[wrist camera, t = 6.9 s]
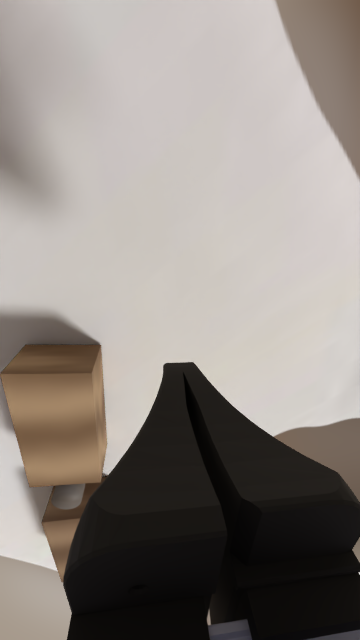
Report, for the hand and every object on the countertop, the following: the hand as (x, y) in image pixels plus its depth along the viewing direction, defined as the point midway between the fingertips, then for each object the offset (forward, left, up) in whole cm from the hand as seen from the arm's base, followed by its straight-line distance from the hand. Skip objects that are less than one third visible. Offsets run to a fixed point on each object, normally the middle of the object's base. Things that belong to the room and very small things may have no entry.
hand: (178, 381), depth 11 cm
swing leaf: (-9, -17, -10) cm, 22 cm away
